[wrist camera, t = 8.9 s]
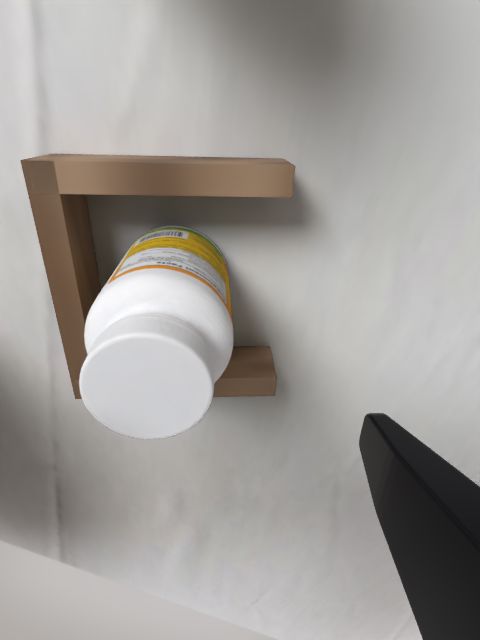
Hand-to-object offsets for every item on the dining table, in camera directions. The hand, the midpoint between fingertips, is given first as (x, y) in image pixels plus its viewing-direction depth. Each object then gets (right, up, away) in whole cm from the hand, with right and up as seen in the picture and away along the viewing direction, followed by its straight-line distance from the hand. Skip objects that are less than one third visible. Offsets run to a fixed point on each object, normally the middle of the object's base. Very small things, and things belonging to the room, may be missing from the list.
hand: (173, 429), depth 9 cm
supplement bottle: (-2, +5, +11) cm, 12 cm away
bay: (-2, +5, +11) cm, 12 cm away
